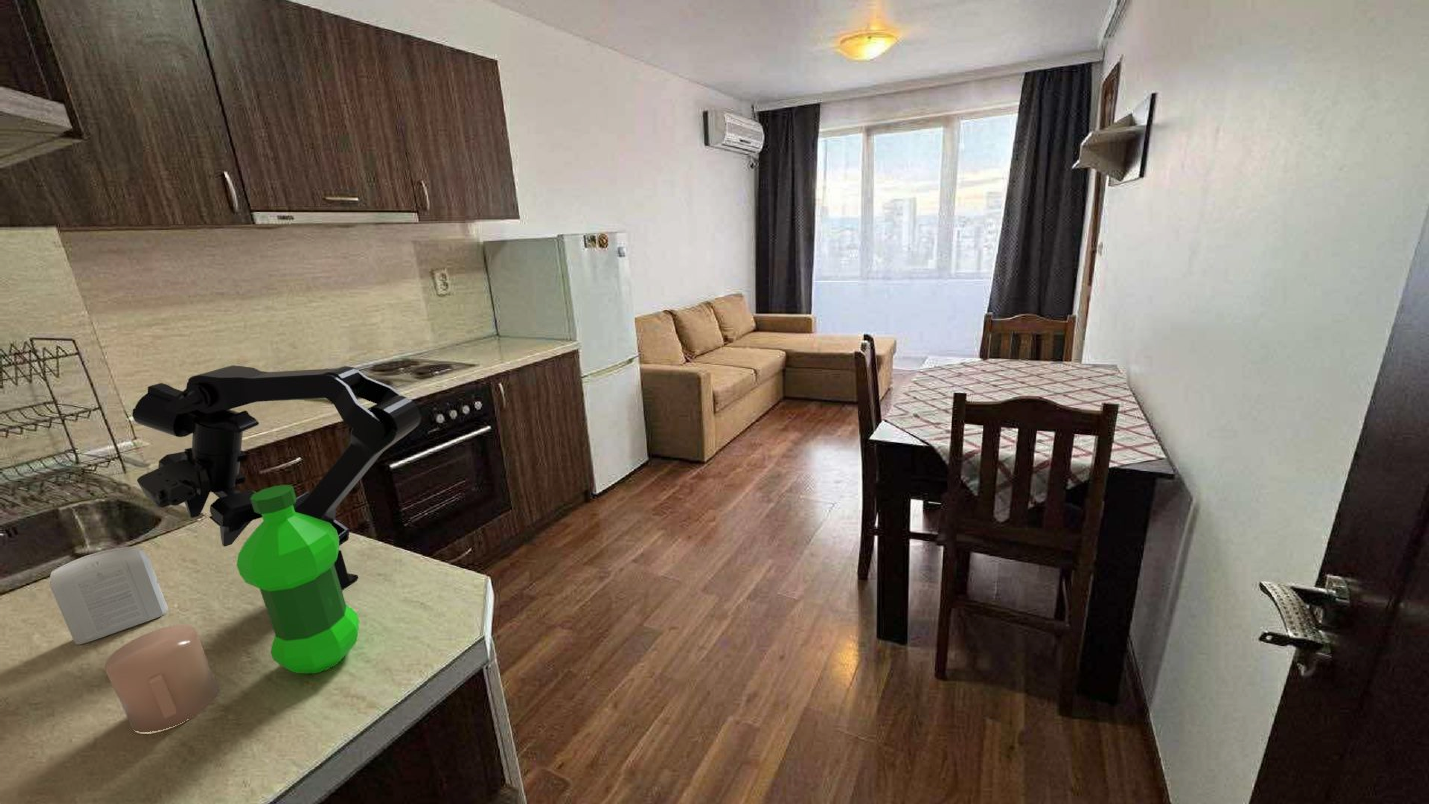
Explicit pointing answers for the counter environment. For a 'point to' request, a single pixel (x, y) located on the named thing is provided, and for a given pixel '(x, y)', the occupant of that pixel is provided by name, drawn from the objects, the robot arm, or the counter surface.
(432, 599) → the counter surface
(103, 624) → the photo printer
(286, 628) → the plastic bottle
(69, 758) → the counter surface
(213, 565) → the counter surface
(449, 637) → the counter surface
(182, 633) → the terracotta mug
